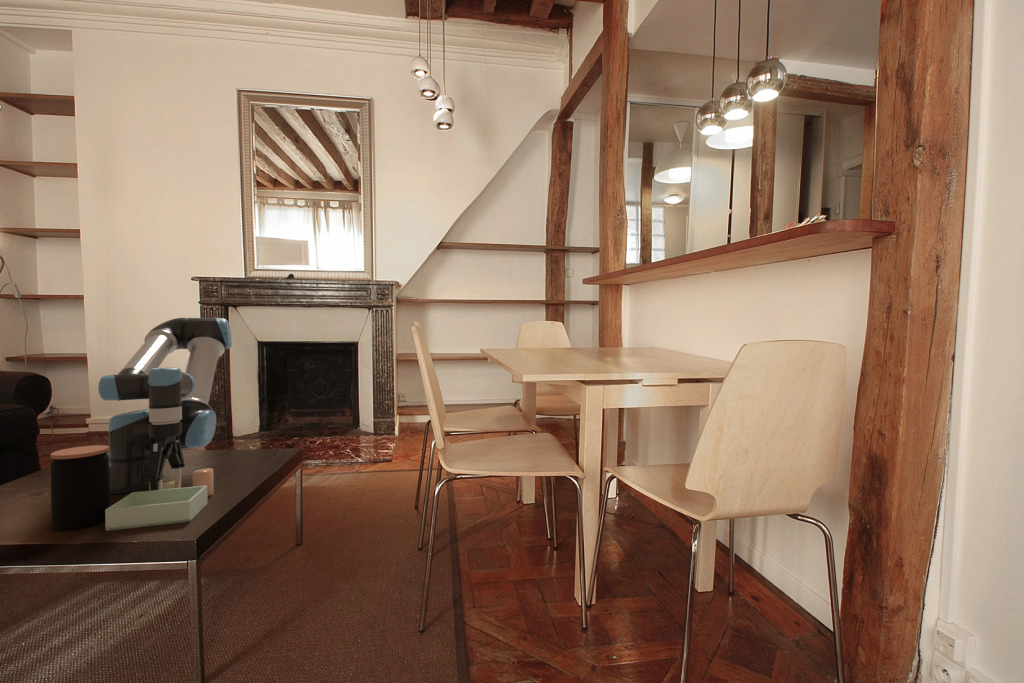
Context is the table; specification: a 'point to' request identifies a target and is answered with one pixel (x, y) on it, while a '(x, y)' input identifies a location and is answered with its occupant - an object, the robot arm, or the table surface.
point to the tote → (156, 507)
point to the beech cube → (170, 483)
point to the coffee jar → (79, 487)
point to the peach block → (204, 479)
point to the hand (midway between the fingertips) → (166, 497)
